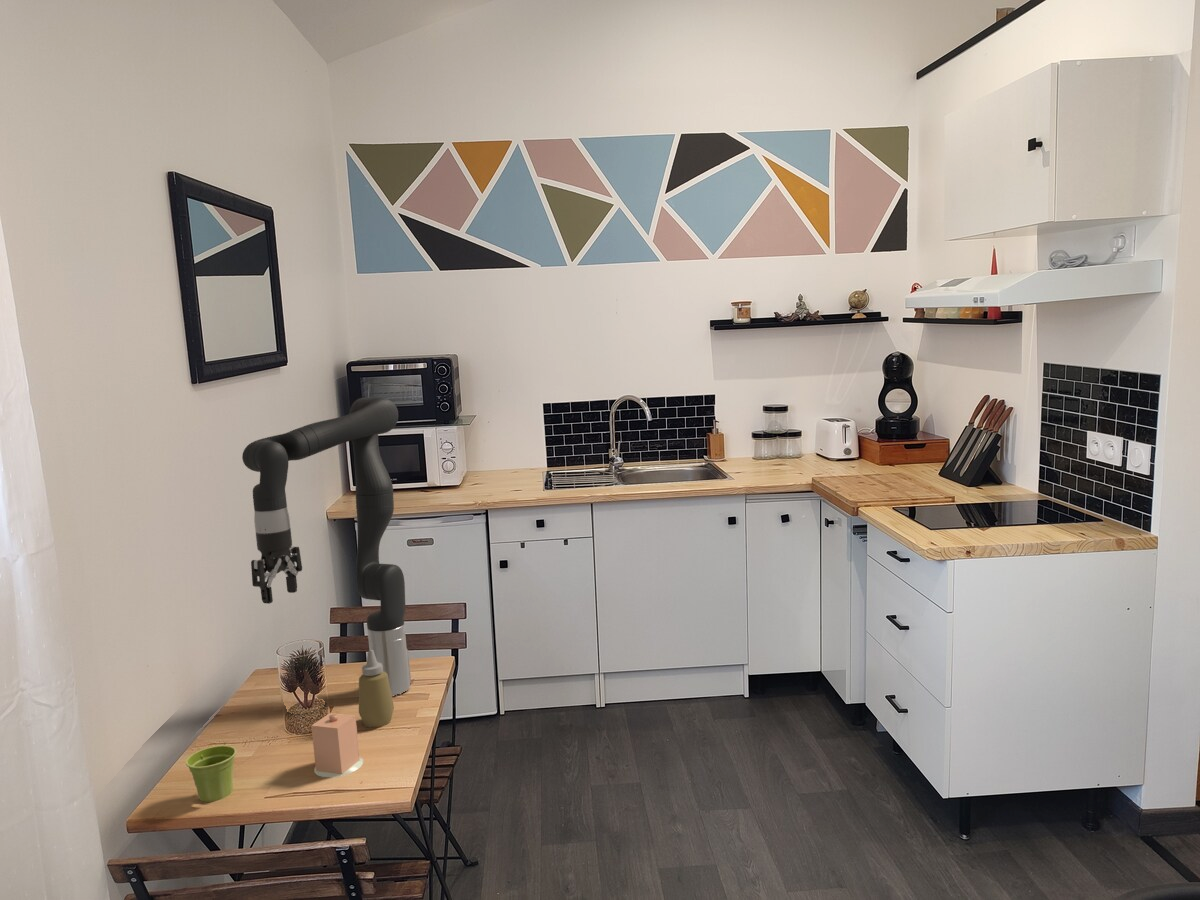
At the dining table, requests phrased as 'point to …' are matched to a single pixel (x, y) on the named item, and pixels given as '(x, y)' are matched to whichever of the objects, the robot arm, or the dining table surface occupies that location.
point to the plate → (350, 770)
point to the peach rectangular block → (335, 743)
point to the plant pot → (213, 772)
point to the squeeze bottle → (374, 694)
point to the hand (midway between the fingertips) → (280, 597)
